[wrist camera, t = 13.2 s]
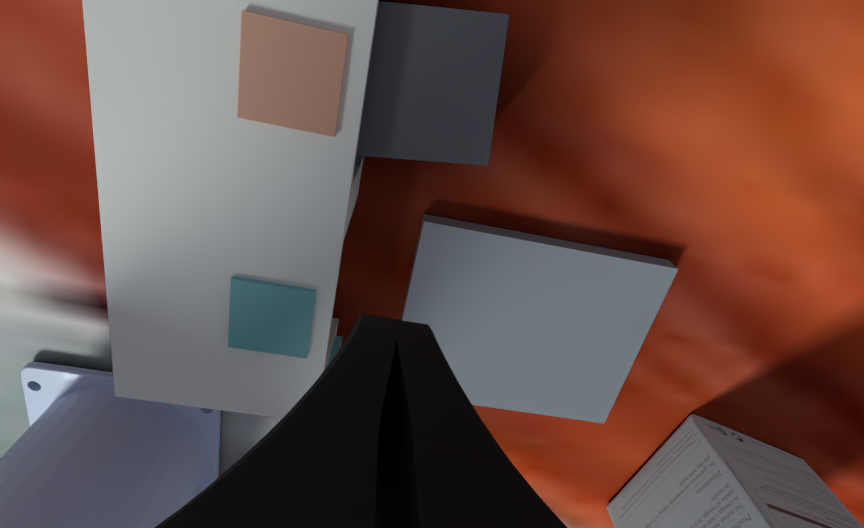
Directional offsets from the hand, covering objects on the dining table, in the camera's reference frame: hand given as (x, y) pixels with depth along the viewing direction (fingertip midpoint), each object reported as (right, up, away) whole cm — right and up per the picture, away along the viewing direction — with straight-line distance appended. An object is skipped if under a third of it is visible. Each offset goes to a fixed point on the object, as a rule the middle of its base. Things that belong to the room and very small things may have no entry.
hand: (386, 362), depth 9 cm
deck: (+5, -1, +12) cm, 12 cm away
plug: (-1, +8, +7) cm, 11 cm away
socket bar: (-5, +6, +8) cm, 11 cm away
